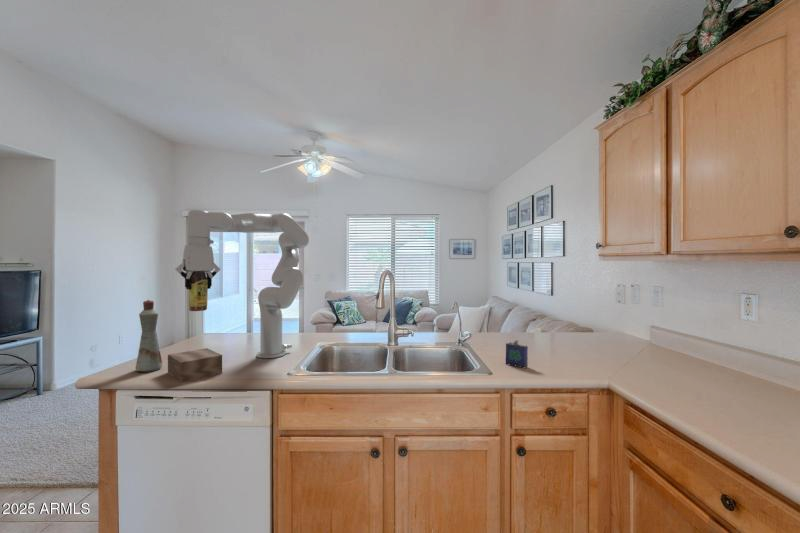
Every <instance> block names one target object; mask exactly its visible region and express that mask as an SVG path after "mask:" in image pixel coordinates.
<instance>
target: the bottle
mask: <svg viewBox="0 0 800 533" xmlns="http://www.w3.org/2000/svg"><path fill="white" fill-rule="evenodd" d="M142 305H143V310H142V311H141V312H140V313H139V314H138V316H139V322H140V327H141V328H140V329H141V336H140V342H139V347H138V354H137V358H136V363H135V364H136V365H135V371H136V372H143V373H144V372H145V373H146V372H147V373H148V372H149V373H150V372H153V371H159V370H160V369H162V367H163V360H162V354H161V350H160V344H159V338H158V335H157V334H158V333H157V325H158V324H157V323H158V319H159V318H158V316H159V312H158V311H157V310H155V308H154V307H155V306H154V305H155V302H154V300H150V299H147V300H144V301H143V302H142Z"/></svg>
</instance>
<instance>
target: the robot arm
mask: <svg viewBox="0 0 800 533" xmlns="http://www.w3.org/2000/svg"><path fill="white" fill-rule="evenodd" d="M211 233H242V234H243V233H244V234H245V233H246V234H247V233H254V234H255V233H256V234H257V233H258V234H259V233H261V234H262V233H264V234H265V233H266V234H267V233H268V234H273V233H274V234H275V233H276V234H277V233H280V235H279V237H278V245H279V246H280V249H281V257H280V259H279V262H278V264H277V265H276V267H275V268H274V270H273V272H272V275H271V283H272V284H273V285H274V286H267V287H264V288H262V289H261V290H260V291H259V294H258V297H257V300H258V306H259V314H260V315H259V316H260V323H259V324H260V326H259V328H260V330H259V331H260V333H259V334H260V337H259V338H260V347H259V348H260V350H259V352H257V353H256V357H257V358H259V359H275V358H281V357H283V356H285V355H286V349H292V348H293V345H292V343H288V344H286V343H283V313H282V310H285V309H288V308H289V307H291V305H292V304H293V303H294V302H295V299H296V297H297V295H298V293H299V291H300V289H301V286H302V285H303V282H304V274H303V272H302V270H301V269H300V268H298V266H299V262H300V254H299V252H298V249H304V248H306V247H307V246H308V244H309V241H310V239H309V238H310V237H309V235H308V234H307V232H306V231H305V229H303V227H302V226H301V225H300V224H299V223H298V222H297V221H296V220H295V219H294V218H293V217H292V216H291V215H290V214H288V213H285V212H282V213H281V212H280V213H275V214H273V213H272V214H271V213H270V214H269V213H257V212H256V213H255V212H254V213H253V212H247V213H240V214H229V213H227V212H223V211H206V210H202V209H191V210H189V211H188V212H187V245H184V249H183V254H182V262H181V263H180V264H179V265H178V266H177V267H175V271H176V272H177V273H178V274H179V275H180V276H182V278H183V279H184V287H185V288H186V290H188V291H189V290H190V289H191V279H190V276H191V274H192V272H197V271H204V272H205V274H206V277H207V280H208V290H209V289H211V287H212V285H213V284H212V283H213V282H212V281H213V280H212V279H213V278H214V276H216V275H217V274H218V273H219V272H220V271H221V268H220V267H219V266H218V265H217V264H216V263H215V259H214V258H215V257H214V251H213V247H212V246H211V245H212V244H213V245H214V242H215V241H214V239H213V240H212V239H211Z"/></svg>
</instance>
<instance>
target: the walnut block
mask: <svg viewBox="0 0 800 533" xmlns="http://www.w3.org/2000/svg"><path fill="white" fill-rule="evenodd" d="M167 373H168V374H169V373H170V374H171V375H170V374H169V375H170V376H172V375H173V376H174V377H173V376H172V377H173V378H175V379H176V380H178V382H180V383H184V382H187V381H192V380H197V379H202V378H207V377H211V376H215V375H220V374H222V373H223V354H221V353H218V352H216V351H213V350H212V349H209V348H208V347H207V348H206V347H205V348H200V349H194V350H189V351H188V350H187V351H181V352H176V353H171V354H170V353H169V354H167Z"/></svg>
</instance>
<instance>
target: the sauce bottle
mask: <svg viewBox="0 0 800 533" xmlns="http://www.w3.org/2000/svg"><path fill="white" fill-rule="evenodd" d="M190 279H191V289H190V290H189V289H188V307H189V309H188V311H189V312H203V311H207V309H208V300H209V298H208V296H209V295H208V290H209V289H208V280H207V276H206V274H205V272H204V271H197V272H192V274H191V276H190Z"/></svg>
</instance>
